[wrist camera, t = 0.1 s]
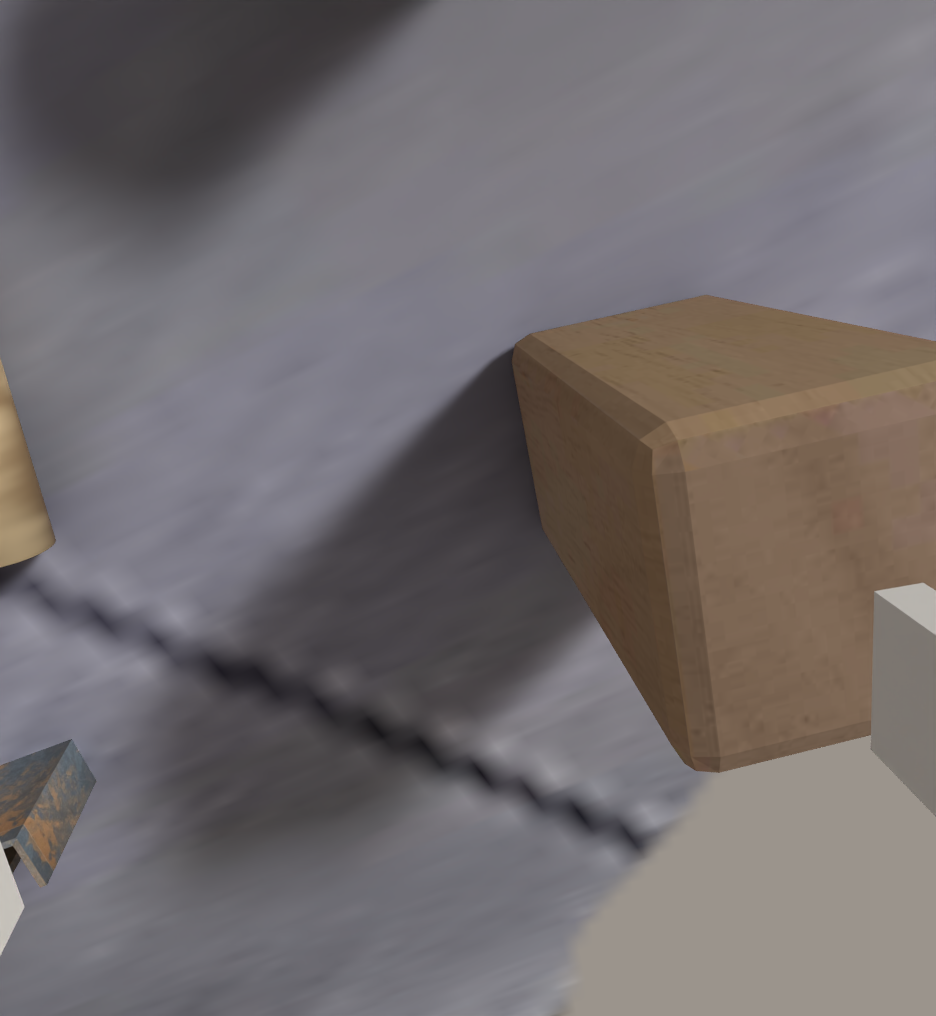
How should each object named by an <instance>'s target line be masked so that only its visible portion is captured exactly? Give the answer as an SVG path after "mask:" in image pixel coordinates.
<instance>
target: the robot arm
mask: <svg viewBox="0 0 936 1016" xmlns="http://www.w3.org/2000/svg"><path fill="white" fill-rule="evenodd" d="M871 750H872V751H873V752H874V753H875V754H876V755H877V756H878V757H879V759H880V760H881V761H882V762H883V763H884V764H885V765H886V766H887V767H888V768H889V769H890V770H891V771H892V772H893V773H894V774H895V775H896V776H897V777H898V778H899V779H900V780H901V781H902V782H903V783H904V784H905V785H906V786H907V787H908V788H909V789H910V790H911V792H912V793H913V794H914V795H915V796H916V797H917V798H918V799H919V800H920V801H921V802H922V803H923V804H924V805H925V806H926V807H927V808H928V809H929V810H930V811H931V812H932V813H933V814H934V815H935V816H936V590H934V589H932V588H931V587H929V586H928V585H926V584H925V583H919V584H913V585H907V586H901V587H896V588H890V589H884V590H878V591H874V623H873V667H872V712H871ZM23 909H24V904H23V902H22V899H21V896H20V893H19V891H18V888H17V885H16V883H15V880H14V877H13V874H12V872H11V869H10V866H9V864H8V861H7V858H6V855H5V853H4V850H3V847H2V845H1V842H0V955H1V953H2V951H3V949H4V947H5V945H6V943H7V941H8V939H9V937H10V935H11V933H12V931H13V929H14V927H15V925H16V923H17V921H18V919H19V917H20V915H21V913H22V911H23Z"/></svg>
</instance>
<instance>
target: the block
mask: <svg viewBox="0 0 936 1016" xmlns="http://www.w3.org/2000/svg"><path fill="white" fill-rule="evenodd" d="M512 366H513V372H514V377H515V383H516V388H517V394H518V399H519V404H520V410H521V415H522V421H523V426H524V431H525V437H526V442H527V448H528V453H529V459H530V464H531V469H532V475H533V480H534V486H535V491H536V496H537V502H538V507H539V513H540V518H541V524H542V529H543V530H544V532H545V534H546V535H547V537H548V539H549V540H550V542H551V544H552V545H553V547H554V549H555V550H556V552H557V554H558V556H559V557H560V559H561V561H562V562H563V564H564V566H565V567H566V569H567V571H568V572H569V574H570V576H571V577H572V579H573V581H574V582H575V584H576V586H577V587H578V589H579V591H580V592H581V594H582V596H583V597H584V599H585V601H586V602H587V604H588V606H589V607H590V609H591V611H592V612H593V614H594V616H595V618H596V619H597V621H598V623H599V624H600V626H601V628H602V629H603V631H604V633H605V634H606V636H607V638H608V639H609V641H610V643H611V644H612V646H613V648H614V649H615V651H616V653H617V654H618V656H619V658H620V659H621V661H622V663H623V664H624V666H625V668H626V669H627V671H628V673H629V675H630V676H631V678H632V680H633V681H634V683H635V685H636V686H637V688H638V690H639V691H640V693H641V695H642V696H643V698H644V700H645V701H646V703H647V705H648V706H649V708H650V710H651V711H652V713H653V715H654V716H655V718H656V720H657V721H658V723H659V725H660V726H661V728H662V730H663V731H664V733H665V735H666V737H667V738H668V740H669V742H670V743H671V745H672V746H673V748H674V749H675V751H676V752H677V753H678V755H679V756H680V758H681V759H682V760H683V762H684V763H685V764H686V765H688V766H689V767H691V768H692V769H694V770H696V771H705V772H718V773H720V772H724V771H728V770H732V769H736V768H740V767H743V766H748V765H752V764H756V763H760V762H764V761H768V760H772V759H776V758H780V757H784V756H788V755H792V754H796V753H800V752H804V751H808V750H813V749H817V748H821V747H825V746H829V745H832V744H836V743H840V742H845V741H849V740H853V739H857V738H861V737H865V736H869V735H871V712H872V667H873V623H874V591H878V590H884V589H890V588H896V587H901V586H907V585H913V584H919V583H925V584H926V585H928V586H929V587H931V588H932V589H934V590H936V341H931V340H926V339H921V338H916V337H911V336H906V335H901V334H896V333H891V332H887V331H882V330H877V329H872V328H867V327H862V326H857V325H852V324H847V323H842V322H837V321H832V320H827V319H822V318H817V317H812V316H808V315H803V314H798V313H793V312H788V311H783V310H778V309H773V308H768V307H763V306H758V305H753V304H748V303H743V302H738V301H733V300H728V299H724V298H719V297H714V296H709V295H704V296H699V297H695V298H690V299H686V300H681V301H676V302H672V303H667V304H663V305H658V306H654V307H649V308H645V309H640V310H636V311H631V312H627V313H622V314H618V315H613V316H609V317H604V318H599V319H595V320H590V321H586V322H581V323H577V324H572V325H568V326H563V327H559V328H554V329H550V330H545V331H541V332H536V333H532V334H529V335H527V336H526V337H525V338H523V339H522V340H520V341H519V342H517V343H516V344H515V347H514V352H513V357H512Z"/></svg>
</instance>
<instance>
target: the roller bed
mask: <svg viewBox="0 0 936 1016" xmlns="http://www.w3.org/2000/svg"><path fill="white" fill-rule="evenodd" d="M55 541H56V539H55V536H54V533H53V529H52V526H51V523H50V519H49V516H48V513H47V510H46V506H45V503H44V500H43V496H42V493H41V490H40V487H39V483H38V480H37V477H36V474H35V470H34V467H33V464H32V460H31V457H30V454H29V451H28V447H27V444H26V441H25V437H24V434H23V431H22V428H21V424H20V421H19V418H18V414H17V411H16V408H15V405H14V401H13V398H12V395H11V392H10V388H9V385H8V382H7V378H6V375H5V372H4V369H3V365H2V362H1V359H0V567H4V566H7V565H11V564H14V563H18V562H21V561H23V560H26V559H29V558H31V557H34V556H36V555H38V554H40V553H42V552H44V551H46V550H47V549H49V548H50V547H51V546H53V545H54V543H55Z"/></svg>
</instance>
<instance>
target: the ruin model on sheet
mask: <svg viewBox="0 0 936 1016" xmlns="http://www.w3.org/2000/svg"><path fill="white" fill-rule="evenodd" d="M95 783H96V779H95V778H94V776H93V774H92V773H91V771H90V769H89V768H88V766H87V764H86V763H85V761H84V759H83V758H82V756H81V754H80V753H79V751H78V749H77V747H76V746H75V744H74V742H73V741H72V739H71V740H68V741H66V742H63V743H60V744H57V745H55V746H52V747H49V748H47V749H44V750H41V751H38V752H36V753H33V754H30V755H28V756H25V757H22V758H20V759H17V760H14V761H11V762H9V763H6V764H3V765H1V766H0V842H1V845H2V847H3V850H4V853H5V855H6V858H7V861H8V864H9V866H10V869H11V872H12V874H13V872H14V870H15V868H16V866H17V865H18V863H19V861H20V859H22V860H23V862H24V863H25V865H26V867H27V868H28V870H29V871H30V873H31V874H32V876H33V877H34V879H35V880H36V882H37V883H38V885H39V886H40V887H43V886H45V885H47V883H48V881H49V879H50V877H51V875H52V873H53V871H54V869H55V867H56V865H57V863H58V860H59V858H60V856H61V854H62V852H63V850H64V848H65V846H66V844H67V842H68V839H69V837H70V835H71V833H72V831H73V829H74V827H75V825H76V823H77V821H78V818H79V816H80V814H81V812H82V810H83V808H84V806H85V804H86V802H87V800H88V797H89V795H90V793H91V791H92V789H93V787H94V785H95Z"/></svg>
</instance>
